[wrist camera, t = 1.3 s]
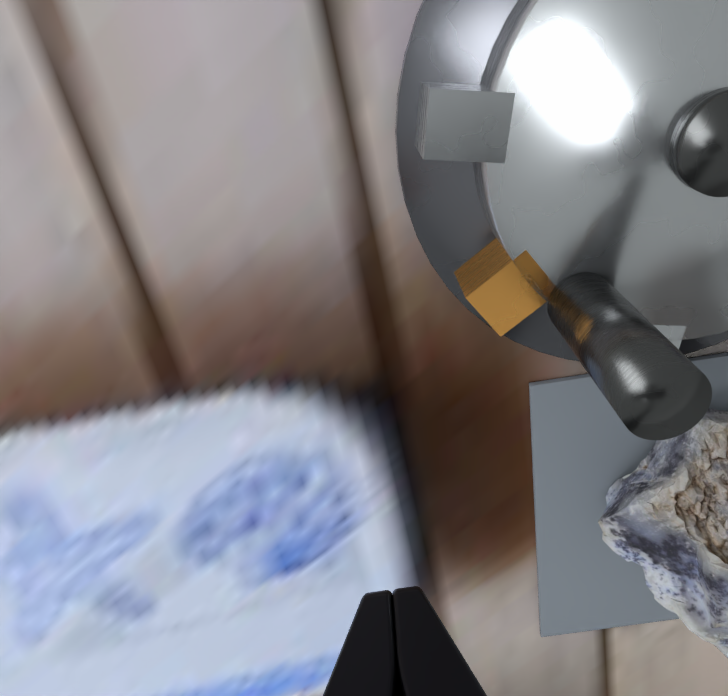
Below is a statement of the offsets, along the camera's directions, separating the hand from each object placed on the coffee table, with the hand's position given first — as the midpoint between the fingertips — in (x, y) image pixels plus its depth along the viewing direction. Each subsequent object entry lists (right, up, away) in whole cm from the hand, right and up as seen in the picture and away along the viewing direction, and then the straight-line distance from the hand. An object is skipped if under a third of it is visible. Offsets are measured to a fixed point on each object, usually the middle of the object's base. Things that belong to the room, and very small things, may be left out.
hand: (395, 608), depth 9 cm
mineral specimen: (+12, -2, +15) cm, 20 cm away
